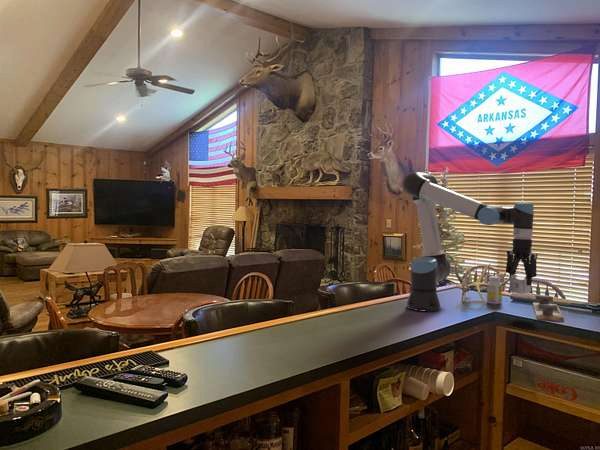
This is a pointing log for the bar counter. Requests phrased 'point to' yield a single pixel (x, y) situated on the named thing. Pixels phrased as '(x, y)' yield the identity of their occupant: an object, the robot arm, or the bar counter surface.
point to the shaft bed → (547, 317)
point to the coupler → (517, 285)
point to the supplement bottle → (494, 290)
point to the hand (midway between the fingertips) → (519, 290)
